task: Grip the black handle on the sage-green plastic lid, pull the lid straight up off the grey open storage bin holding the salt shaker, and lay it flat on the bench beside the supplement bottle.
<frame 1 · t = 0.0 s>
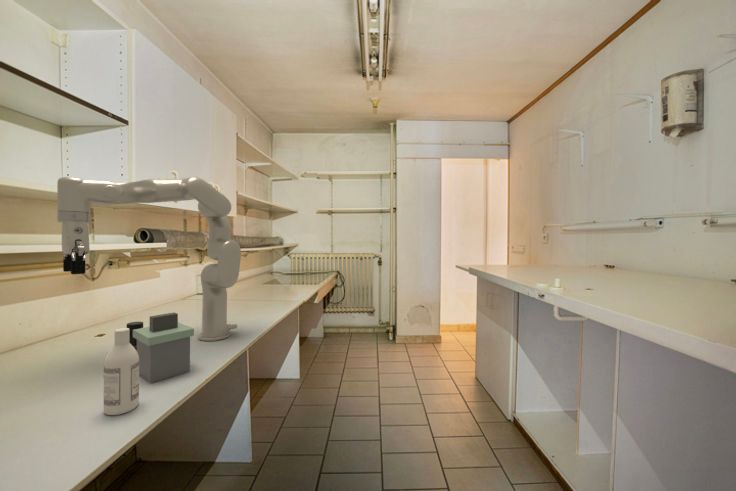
hand: (74, 272, 97), 31 cm above the worktop, tool pointing down, fingers open, 9 cm apart
salt shaker: (163, 372, 99), resting in grey open storage bin
grey open storage bin: (163, 372, 99), on the worktop
lid: (163, 336, 99), point 11 cm above the worktop, touching grey open storage bin
bath foam: (121, 409, 78), on the worktop
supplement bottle: (134, 357, 111), on the worktop
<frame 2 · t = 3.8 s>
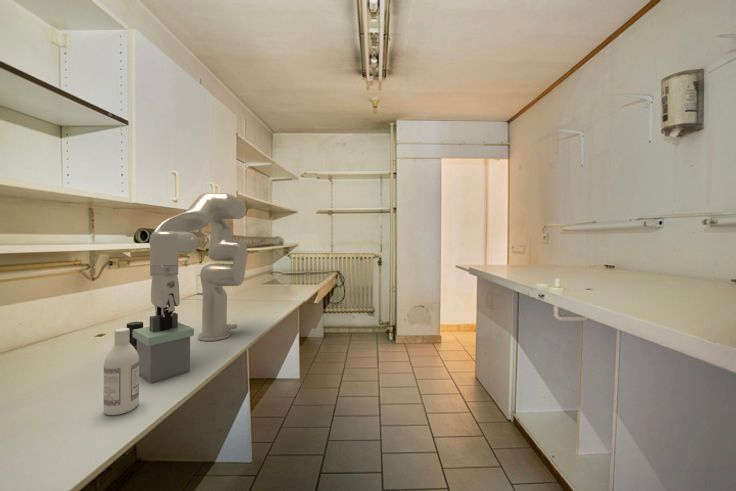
hand: (163, 327, 98), 14 cm above the worktop, tool pointing down, fingers closed on lid, 2 cm apart
lid: (163, 336, 99), point 12 cm above the worktop, touching grey open storage bin, gripper
everything else where it was.
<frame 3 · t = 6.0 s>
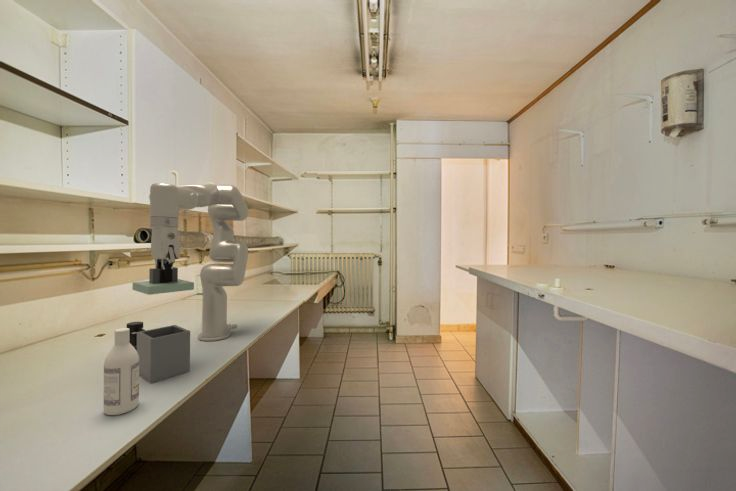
hand: (163, 281, 98), 29 cm above the worktop, tool pointing down, fingers closed on lid, 2 cm apart
lid: (163, 289, 98), point 26 cm above the worktop, touching gripper
everything else where it was.
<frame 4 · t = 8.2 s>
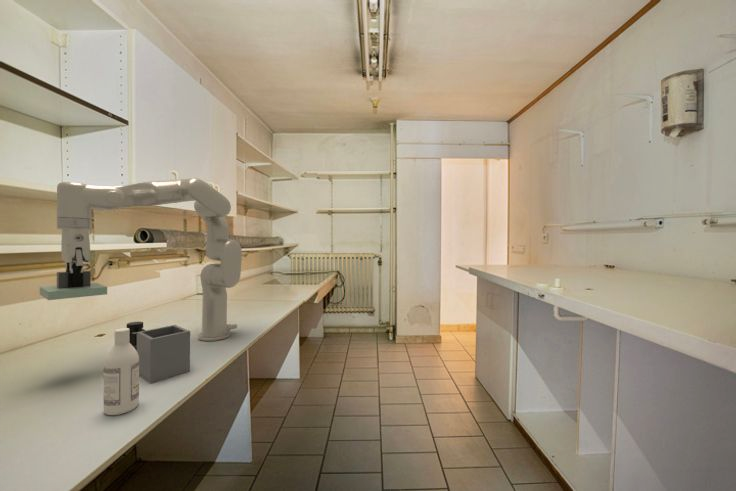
hand: (74, 285, 93), 28 cm above the worktop, tool pointing down, fingers closed on lid, 2 cm apart
lid: (73, 294, 93), point 25 cm above the worktop, touching gripper
everything else where it was.
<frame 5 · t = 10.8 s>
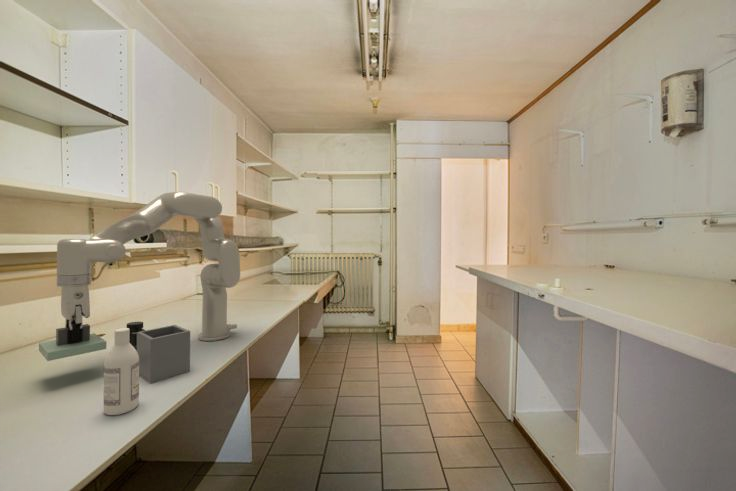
hand: (73, 340, 93), 11 cm above the worktop, tool pointing down, fingers closed on lid, 2 cm apart
lid: (73, 349, 93), point 9 cm above the worktop, touching gripper
everything else where it was.
when the fingers open (5 cm above the worktop, at t = 12.9 s): lid drops 2 cm, on the worktop.
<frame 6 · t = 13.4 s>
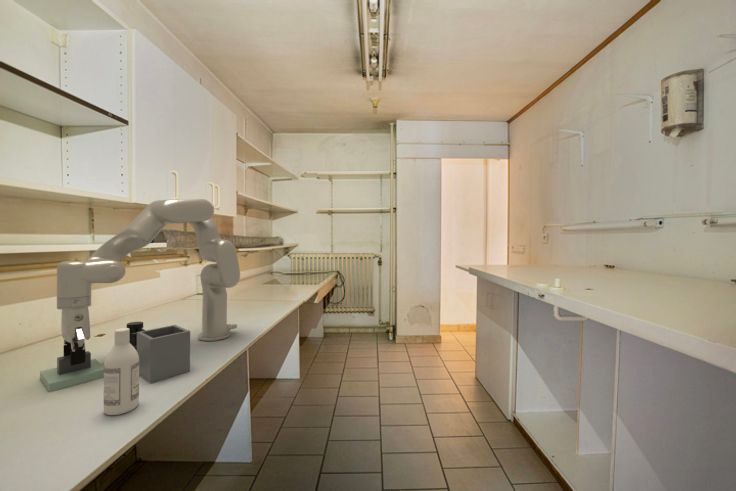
hand: (74, 359, 93), 5 cm above the worktop, tool pointing down, fingers open, 7 cm apart
lid: (74, 377, 94), on the worktop
everything else where it was.
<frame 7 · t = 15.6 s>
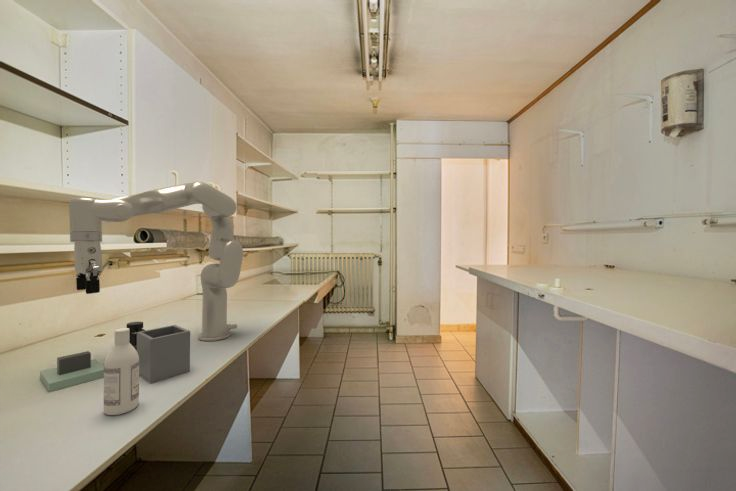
hand: (88, 291, 99), 25 cm above the worktop, tool pointing down, fingers open, 9 cm apart
nothing on the worktop moved.
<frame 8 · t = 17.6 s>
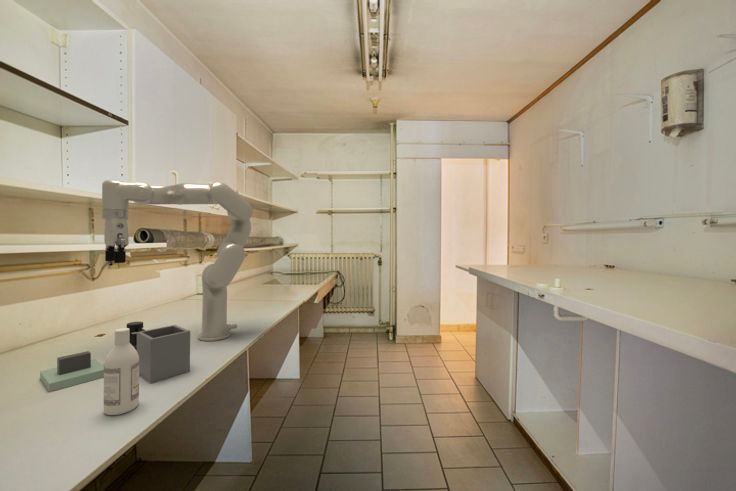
hand: (115, 261, 114), 33 cm above the worktop, tool pointing down, fingers open, 9 cm apart
nothing on the worktop moved.
at the end: lid inside the target area (0.0 cm from its centre), on the worktop; lid tilted 0°; lid touching worktop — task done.
